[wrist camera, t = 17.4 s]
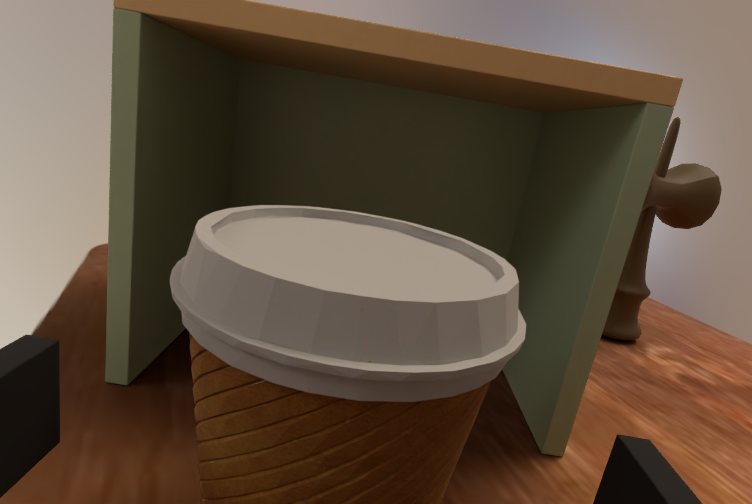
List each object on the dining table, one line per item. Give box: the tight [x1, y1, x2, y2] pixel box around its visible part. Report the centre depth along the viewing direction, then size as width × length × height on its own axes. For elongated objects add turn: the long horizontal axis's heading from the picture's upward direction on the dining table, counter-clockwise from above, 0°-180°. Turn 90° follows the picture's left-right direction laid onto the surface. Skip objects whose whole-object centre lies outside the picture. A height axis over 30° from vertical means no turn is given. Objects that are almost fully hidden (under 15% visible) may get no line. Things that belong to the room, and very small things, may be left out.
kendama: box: [602, 117, 721, 340], centre depth 42 cm, size 6×10×20 cm, turn 112°
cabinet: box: [105, 0, 683, 457], centre depth 30 cm, size 15×24×19 cm, turn 89°
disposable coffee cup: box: [170, 205, 526, 504], centre depth 14 cm, size 10×10×12 cm
